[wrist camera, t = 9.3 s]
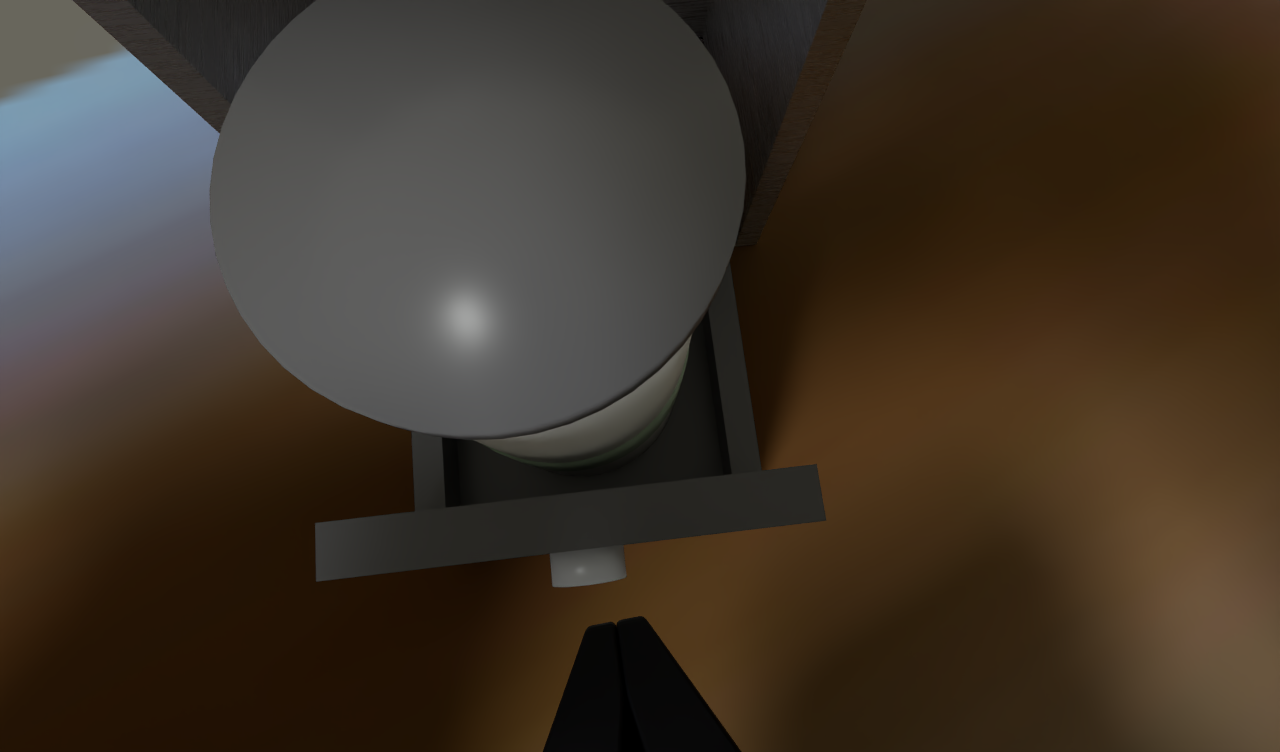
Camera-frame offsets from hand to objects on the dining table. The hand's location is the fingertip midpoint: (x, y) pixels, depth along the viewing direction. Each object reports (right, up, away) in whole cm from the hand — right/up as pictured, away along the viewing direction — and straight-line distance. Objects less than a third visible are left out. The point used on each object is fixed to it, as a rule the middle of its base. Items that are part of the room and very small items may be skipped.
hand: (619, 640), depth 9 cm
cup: (-1, +4, +10) cm, 11 cm away
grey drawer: (-1, +3, +11) cm, 11 cm away
